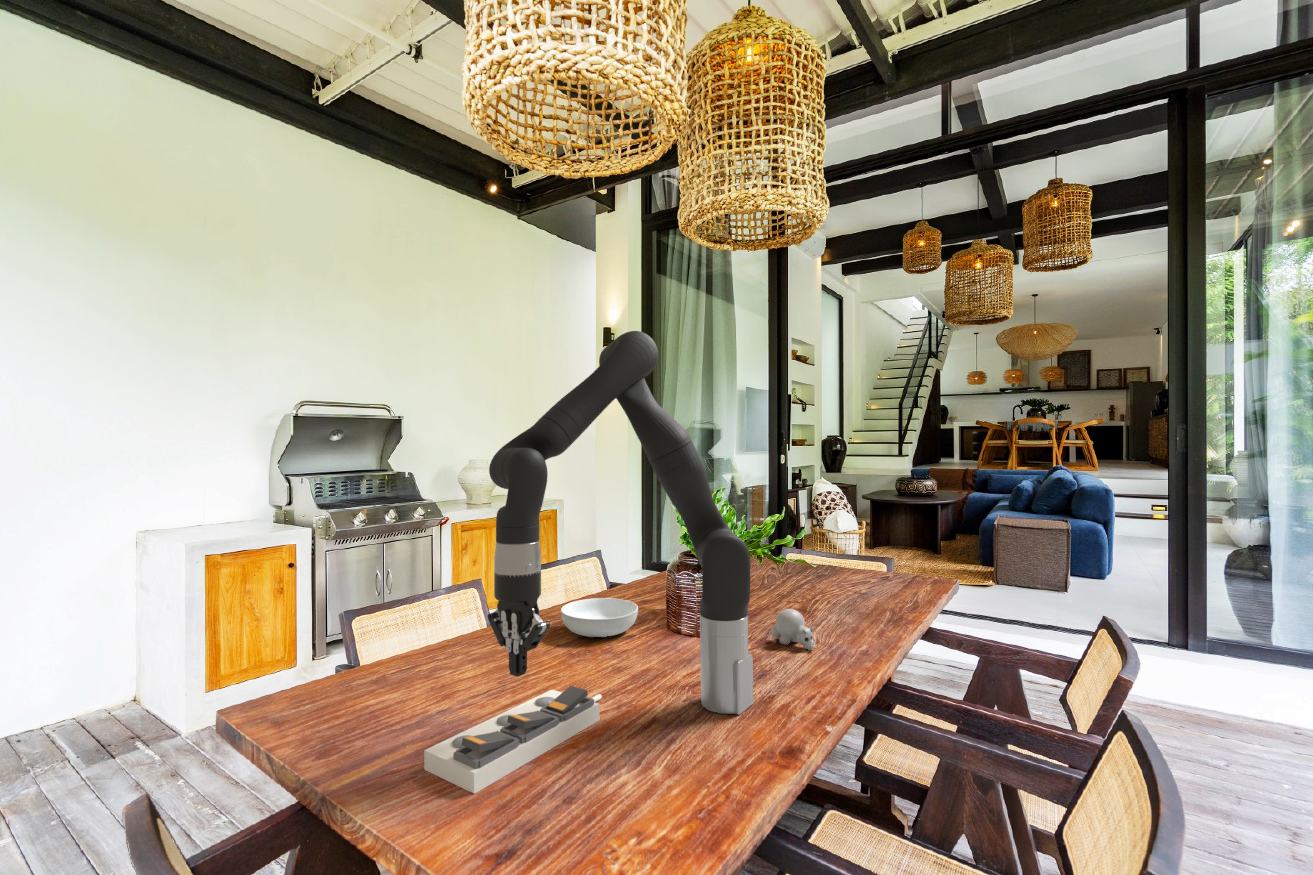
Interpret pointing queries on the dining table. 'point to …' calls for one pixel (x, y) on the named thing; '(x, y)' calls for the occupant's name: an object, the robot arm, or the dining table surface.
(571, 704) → the rocker near cord
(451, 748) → the power strip
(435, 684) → the dining table surface
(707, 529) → the robot arm
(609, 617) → the serving bowl
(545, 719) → the middle rocker
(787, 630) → the chubby cartoon animal
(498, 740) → the rocker far end
